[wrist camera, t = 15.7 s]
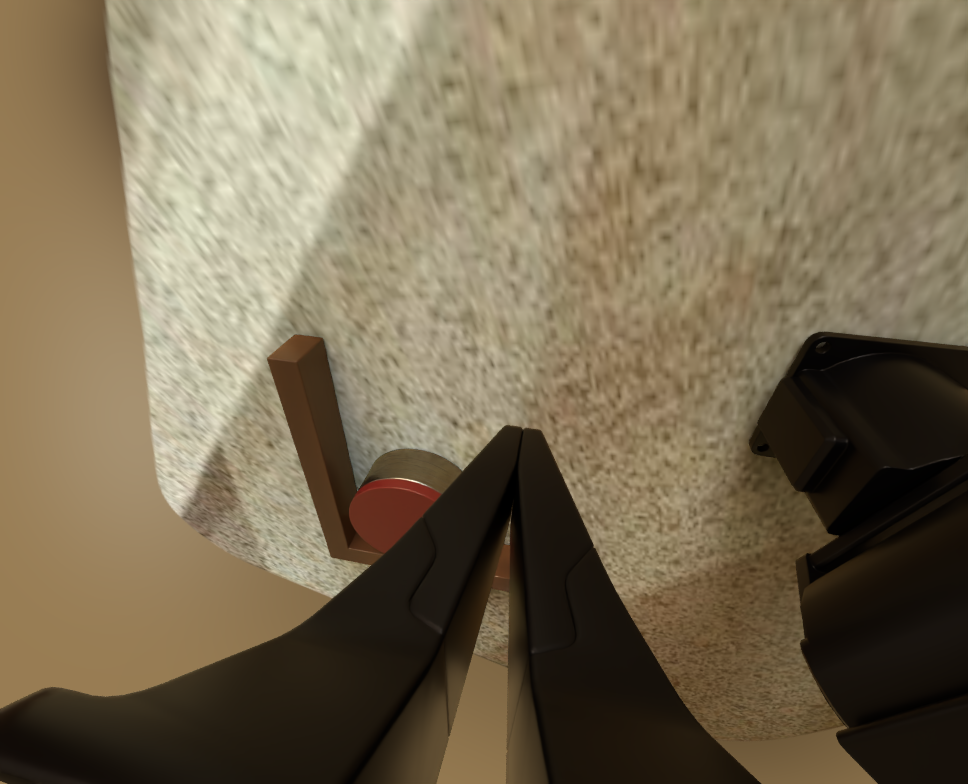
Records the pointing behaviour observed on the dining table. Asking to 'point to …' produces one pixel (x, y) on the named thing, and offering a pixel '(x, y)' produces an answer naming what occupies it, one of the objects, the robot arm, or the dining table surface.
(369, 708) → the robot arm
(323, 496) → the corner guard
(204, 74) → the dining table surface
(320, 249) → the dining table surface
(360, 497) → the tin
